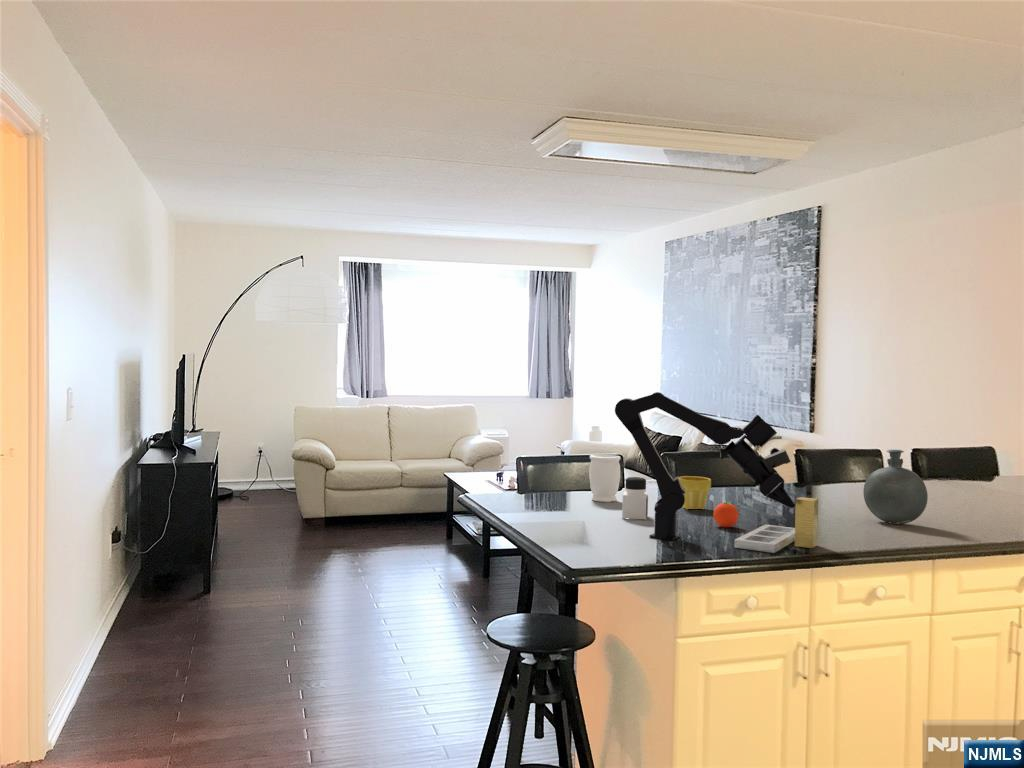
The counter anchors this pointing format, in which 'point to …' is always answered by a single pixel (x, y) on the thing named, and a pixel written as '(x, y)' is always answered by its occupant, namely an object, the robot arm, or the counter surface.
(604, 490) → the jar
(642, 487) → the medicine bottle
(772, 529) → the white compartment tray
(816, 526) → the yellow tall block
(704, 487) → the plant pot
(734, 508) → the tomato
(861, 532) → the counter surface
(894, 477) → the flask
